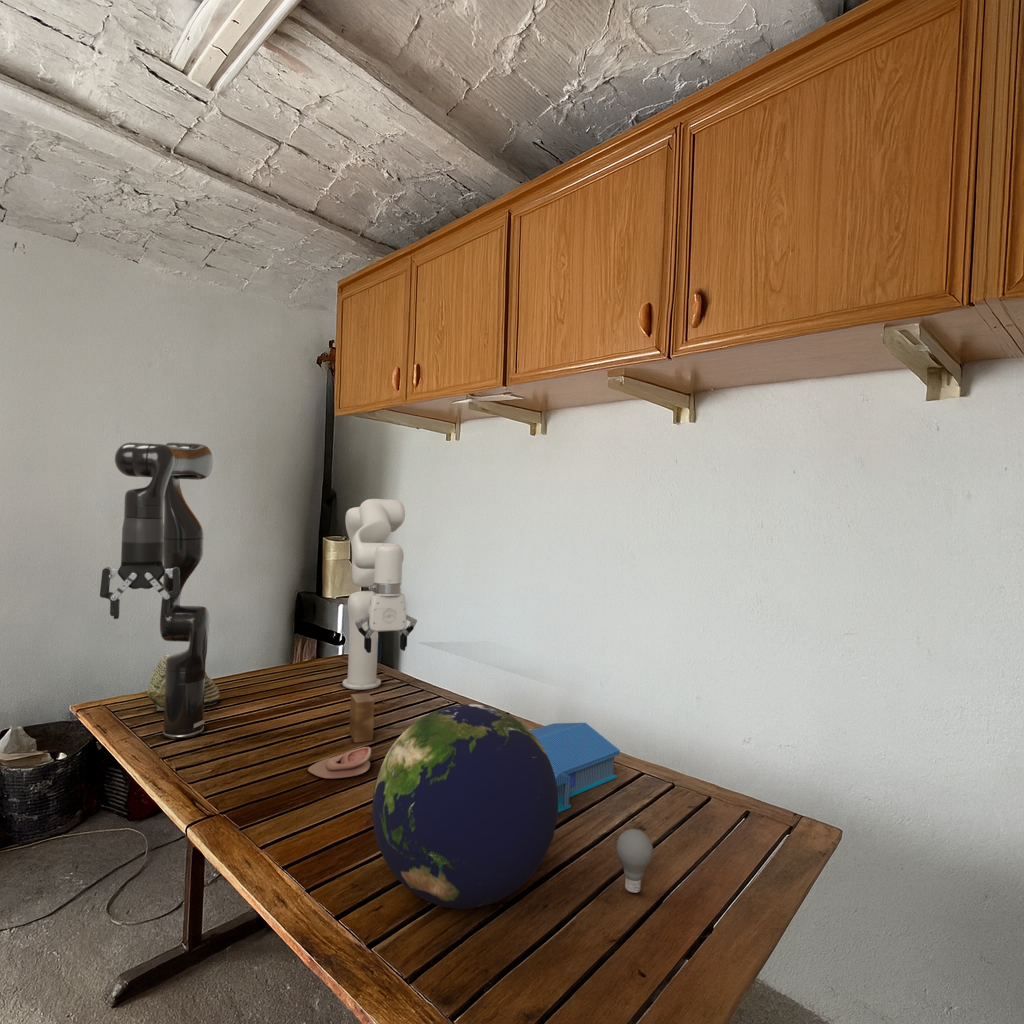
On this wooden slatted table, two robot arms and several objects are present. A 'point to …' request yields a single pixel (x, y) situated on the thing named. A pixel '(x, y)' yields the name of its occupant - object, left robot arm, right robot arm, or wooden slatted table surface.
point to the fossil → (158, 687)
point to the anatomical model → (343, 764)
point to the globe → (465, 806)
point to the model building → (576, 758)
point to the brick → (361, 717)
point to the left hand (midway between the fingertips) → (140, 617)
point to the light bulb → (634, 857)
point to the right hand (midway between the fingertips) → (385, 650)
